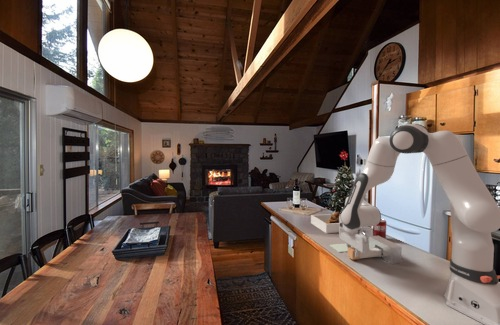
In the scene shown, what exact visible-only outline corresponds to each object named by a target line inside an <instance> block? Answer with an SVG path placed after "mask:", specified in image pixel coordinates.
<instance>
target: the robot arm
mask: <svg viewBox="0 0 500 325" xmlns="http://www.w3.org/2000/svg"><path fill="white" fill-rule="evenodd" d="M421 153H424V154H425V155H426V157H427V158H428V161H429V162H430V165H431V167H432V169H433V171H434V173H435V175H436V178H437V180H438V181H439V184H440V185H441V188H442V190H444V193H445V195H446V197H447V198H448V200H449V202H450V226H451V227H450V228H451V237H452V238H451V239H452V241H451V242H452V244H451V258H450V259H449V270H450V274H449V280H448V284H447V287H446V290H445V293H443V295H444V296H443V297H444V299H445V300H446V302H445V304H446V305H447V307H449V308H452V309H454V310H456V311H457V312H458V313H459V312H460V313H462V314H464V315H465V316H467V317H469V318H471V319H473V320H475V321H477V322H479V323H481V324H483V325H500V283H499V282H500V281H499V279H500V275H497V274H496V273H497V272H496V270H495V269H494V258H495V256H494V253H495V245H494V243H493V237H492V233H493V232H494V233H495V232H496V231H498V230H499V229H500V206H499V205H498V204H497V201H496V200H495V199H494V196H493V195H492V193H491V192H490V190H489V188H488V187H487V186H486V185H485V183H484V181H483V180H482V179H481V177H480V175H479V173H478V171H477V170H476V168H475V165H474V164H473V162H472V160H471V157H470V156H469V154H468V152H467V150H466V148H465V147H464V145H463V144H462V142H461V141H460V139H459V138H458V137H457V136H456V135H455V133H453V132H452V131H450V130H438V131H435V132H430V131H429V129H428V128H427V127H426V126H424V125H422V124H418V123H409V124H408V123H407V124H404V125H400V126H398V127H396V128H395V129H394V130H393V131H392V132H391V133H390V136H389V137H388V136H381V137H378V138H376V139H375V140H374V141H373V143H372V145H371V147H370V150H369V152H368V156H367V160H366V161H365V162H366V163H365V165H364V167H363V170H362V171H361V172H360V173H358V174H359V175H357V176H356V178H355V180H354V182H353V185H352V187H351V190H350V193H349V195H348V196H347V197H346V198H345V202H344V206H343V208H342V210H341V212H340V214H341V215H340V218H341V221H342V222H339V226H340V227H339V232H338V236H339V239H340V240H341V241H343V242H344V243H346V246H347V248H349V247H351V246H352V247H354V248H355V250H356V252H355V253H354V256H355V257H359V253H360V252H361V253H368V252H369V236H368V235H367V233H366V232H364V228H368V227H373V226H375V225H378V224H379V223H380V221H381V219H382V214H381V211H380V209H379V208H378V207H376V205H372V204H370V203H369V202H368V201H367V200H365V197H366V194H367V193H368V192H369V191H370V190H371V189H373V188H374V187H377V186H379V185H382V184H384V183H386V182H388V181H389V180H390V179H391V178H392V176H393V173H394V171H395V167H396V163H397V160H398V157H399V156H400V154H421ZM347 251H348V249H347Z"/></svg>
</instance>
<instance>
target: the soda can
mask: <svg viewBox="0 0 500 325" xmlns="http://www.w3.org/2000/svg"><path fill="white" fill-rule="evenodd" d="M372 236H380V237H382V238H385V239H387V220H385V219H383V218H381V221H380V223H379V224H378V225H375V226H372Z"/></svg>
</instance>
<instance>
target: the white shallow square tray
mask: <svg viewBox="0 0 500 325" xmlns="http://www.w3.org/2000/svg"><path fill="white" fill-rule="evenodd" d="M331 214H332V213H329V214H328V213H327V214H311V215H310V224H312V225H313V226H314V227H316V228H318V229H319V230H321V231H322V232H324V234H336V233H339V227H340V226H339V223H332V224H326V223H325V222H327V221H328V220H329V218H330V217H331V216H332V215H331ZM339 214H340V215H341V213H339ZM339 222H342V221H341V218H340V216H339Z"/></svg>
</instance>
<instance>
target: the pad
mask: <svg viewBox="0 0 500 325" xmlns="http://www.w3.org/2000/svg"><path fill="white" fill-rule="evenodd" d="M329 246H330V247H331V248H332V249H333V250H335V251H336V252H338V253H348V251H347V249H348V248H347V246H346V242H344V243H334V244H333V243H332V244H329ZM351 247H352V246H351Z"/></svg>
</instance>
